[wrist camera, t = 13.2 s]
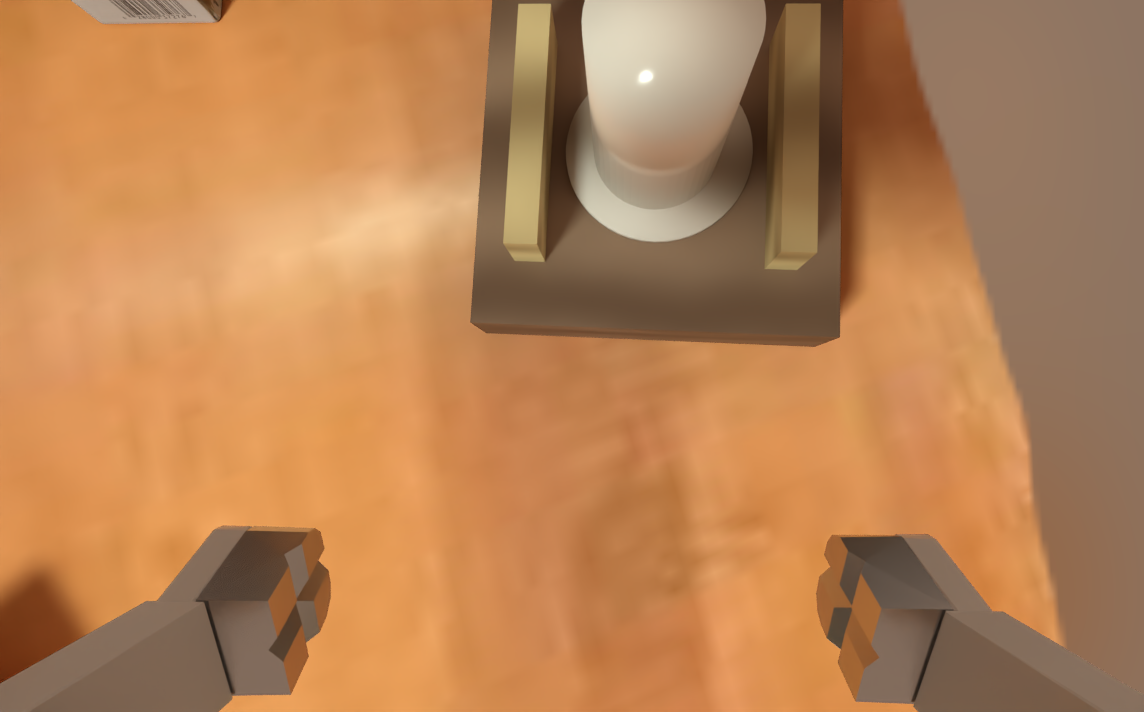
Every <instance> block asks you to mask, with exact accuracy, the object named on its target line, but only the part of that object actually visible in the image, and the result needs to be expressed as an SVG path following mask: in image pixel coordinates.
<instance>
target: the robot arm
mask: <svg viewBox="0 0 1144 712" xmlns="http://www.w3.org/2000/svg"><path fill="white" fill-rule="evenodd" d="M323 550H324V545H323V540H322V536H321V532H320V531H318V530H317V529H315V528H295V527H267V526H254V527H250V526H221V527H219V528H217V529H215V530H213V531H212V533H211V534H210V535H209V536H208V538H207V539H206V540H205V541H204V543H203V544H202V545H201V546H200V548H199V549H198V550H197V551H196V553H195V554H194V555H193V556H192V558H191V559H190V560H189V561H188V563H187V564H186V565H185V566H184V568H183V569H182V570H181V571H180V573H179V574H178V575H177V576H176V578H175V579H174V580H173V581H172V583H171V584H170V585H169V586H168V588H167V589H166V590H165V591H164V593H163V594H162V595H161V596H160V598H159V599H158V600H157V601H146V602H144V603H142V604H140V605H139V606H137V607H135V608H133V609H132V610H130V611H128V612H126V613H124V614H123V615H121V616H119V617H117V618H116V619H114V620H112V621H110V622H108V623H107V624H105V625H103V626H101V627H100V628H98V629H96V630H94V631H93V632H91V633H89V634H87V635H85V636H84V637H82V638H80V639H78V640H77V641H75V642H73V643H71V644H69V645H68V646H66V647H64V648H62V649H61V650H59V651H57V652H55V653H53V654H52V655H50V656H48V657H46V658H45V659H43V660H41V661H39V662H37V663H36V664H34V665H32V666H30V667H29V668H27V669H25V670H23V671H21V672H20V673H18V674H16V675H14V676H13V677H11V678H9V679H7V680H5V681H4V682H2V683H0V712H219V711H220V710H221V709H222V708H223V707H224V706H225V705H226V704H227V703H229V702H230V701H231V700H232V696H237V695H291V693H292V691H293V689H294V687H295V685H296V682H297V680H298V678H299V676H300V674H301V672H302V670H303V667H304V665H305V663H306V661H307V659H308V657H309V655H308V650H307V646H306V642H307V641H309V640H310V639H311V638H313V637H314V636H315V635H316V634H318V633H319V632H320V630H321V628H322V626H323V623H324V621H325V619H326V616H327V612H328V607H329V602H330V597H331V582H330V577H329V571H328V570H327V569H326V568H325V567H324V566H323V565H322V564H321V563H320V562H319V561H318V560H319V558H320V556H321V554H322V552H323ZM824 555H825V557H826V559H827V561H828V563H829V565H830V567H829V568H828V569H827V570H826V571H825V572H824V573H823V574H822V575H821V576H820V577H819V581H818V587H817V593H816V595H817V611H818V615H819V619H820V623H821V626H822V628H823V630H824V633H825V635H826V637H827V639H828V640H830V641H831V642H832V643H834V644H835V645H836V646H837V647H839V648H840V649H841V651H840V656H839V660H838V664H839V666H840V669H841V671H842V673H843V675H844V677H845V680H846V682H847V684H848V686H849V688H850V691H851V693H852V695H853V697H854V699H855V701H856V702H880V703H905V704H914V706H913V707H914V708H915V709H916V710H917V711H918V712H1144V694H1142V693H1140V692H1139V691H1137V690H1135V689H1133V688H1132V687H1130V686H1128V685H1127V684H1125V683H1123V682H1122V681H1120V680H1118V679H1116V678H1114V677H1113V676H1111V675H1110V674H1108V673H1106V672H1104V671H1103V670H1101V669H1099V668H1098V667H1096V666H1094V665H1093V664H1091V663H1089V662H1088V661H1086V660H1084V659H1082V658H1081V657H1079V656H1077V655H1076V654H1074V653H1072V652H1070V651H1069V650H1067V649H1065V648H1064V647H1062V646H1060V645H1059V644H1057V643H1055V642H1054V641H1052V640H1050V639H1049V638H1047V637H1045V636H1043V635H1042V634H1040V633H1038V632H1037V631H1035V630H1033V629H1032V628H1030V627H1028V626H1026V625H1025V624H1023V623H1021V622H1020V621H1018V620H1016V619H1015V618H1013V617H1011V616H1009V615H1008V614H1006V613H1004V612H993V611H992V610H991V609H990V607H989V606H988V605H987V604H986V602H985V601H984V600H983V598H982V597H981V596H980V595H979V593H978V592H977V591H976V590H975V588H974V587H973V586H972V585H971V583H970V582H969V581H968V579H967V578H966V577H965V576H964V574H963V573H962V572H961V571H960V569H959V568H958V567H957V565H956V564H955V563H954V562H953V560H952V559H951V558H950V557H949V555H948V554H947V553H946V551H945V550H944V549H943V548H942V546H941V545H940V544H939V543H938V541H937V540H936V539H935V538H933V537H932V536H930V535H928V534H896V535H832V536H831V537H830V539H829V540H828V542H827V545H826V549H825V554H824Z"/></svg>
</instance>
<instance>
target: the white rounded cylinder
mask: <svg viewBox="0 0 1144 712" xmlns="http://www.w3.org/2000/svg"><path fill="white" fill-rule="evenodd" d="M765 27H766V8H765V2H764V0H585V2H584V6H583V11H582V38H583V48H584V59H585V69H586V79H587V89H588V99H589V109H590V119H591V129H592V139H593V150H594V159H595V164H596V168H597V171H598V173H599V175H600V178H601V180H602V181H603V183H604V184H605V186H606V187H607V188H608V189H609V190H610V191H611V192H612V193H613V194H614V195H615V196H616V197H618V198H619V199H621V200H622V201H624V202H626V203H628V204H630V205H633V206H636V207H639V208H644V209H653V210H657V209H666V208H672V207H675V206H678V205H680V204H682V203H685V202H687V201H688V200H690V199H691V198H693V197H694V196H695V195H697V194H698V193H699V192H700V191H701V190H702V189H703V188H704V187H705V186H706V184H707V183H708V181H709V180H710V178H711V176H712V175H713V173H714V170H715V167H716V165H717V162H718V159H719V157H720V154H721V151H722V149H723V146H724V143H725V141H726V138H727V135H728V133H729V130H730V127H731V125H732V122H733V119H734V117H735V114H736V111H737V109H738V106H739V103H740V101H741V98H742V95H743V92H744V90H745V87H746V84H747V82H748V79H749V76H750V74H751V71H752V68H753V66H754V63H755V60H756V58H757V55H758V52H759V50H760V47H761V44H762V42H763V38H764V33H765Z"/></svg>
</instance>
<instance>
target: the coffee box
mask: <svg viewBox="0 0 1144 712" xmlns="http://www.w3.org/2000/svg"><path fill="white" fill-rule="evenodd" d="M71 1H73V2H74V3H75V4H77V5H78V6H79V7H81V8H82V9H83V10H85V11H86V12H87V13H89V14H90V15H91V16H92V17H94V18H95V19H96V20H98V21H99V22H101V23H103V24H136V23H211V22H217V21H218V20H219V19H220V17H221V8H222V0H71Z"/></svg>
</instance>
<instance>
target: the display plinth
mask: <svg viewBox="0 0 1144 712" xmlns="http://www.w3.org/2000/svg"><path fill="white" fill-rule="evenodd" d="M584 2H585V0H492V13H491V28H490V42H489V57H488V72H487V86H486V101H485V116H484V130H483V145H482V159H481V174H480V189H479V203H478V218H477V233H476V247H475V262H474V277H473V291H472V306H471V321H470V322H471V323H472V324H474V325H475V326H477V327H478V328H480V329H481V330H483V331H484V332H486V333H498V334H522V335H546V336H570V337H594V338H618V339H642V340H666V341H691V342H715V343H739V344H763V345H787V346H811V347H816V346H818V345H821V344H823V343H826V342H829V341H831V340H834V339H837V338H839V337H840V267H841V166H842V65H843V0H764V2H765V8H766V27H765V33H764V38H763V42H762V44H761V47H760V50H759V52H758V55H757V58H756V60H755V63H754V66H753V68H752V71H751V74H750V76H749V79H748V82H747V84H746V87H745V90H744V92H743V95H742V98H741V101H740V103H739V106H738V109H737V111H736V114H735V117H734V119H733V122H732V125H731V127H730V130H729V133H728V135H727V138H726V141H725V143H724V146H723V149H722V151H721V154H720V157H719V159H718V162H717V165H716V167H715V170H714V173H713V175H712V176H711V178H710V180H709V181H708V183H707V184H706V186H705V187H704V188H703V189H702V190H701V191H700V192H699V193H698V194H697V195H695V196H694V197H693V198H691V199H690V200H688V201H687V202H685V203H682V204H680V205H678V206H675V207H672V208H666V209H657V210H653V209H644V208H639V207H636V206H633V205H630V204H628V203H626V202H624V201H622V200H621V199H619V198H618V197H616V196H615V195H614V194H613V193H612V192H611V191H610V190H609V189H608V188H607V187H606V186H605V184H604V183H603V181H602V180H601V178H600V175H599V173H598V171H597V168H596V164H595V159H594V150H593V139H592V129H591V119H590V109H589V99H588V89H587V79H586V69H585V59H584V48H583V38H582V11H583V6H584Z"/></svg>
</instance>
